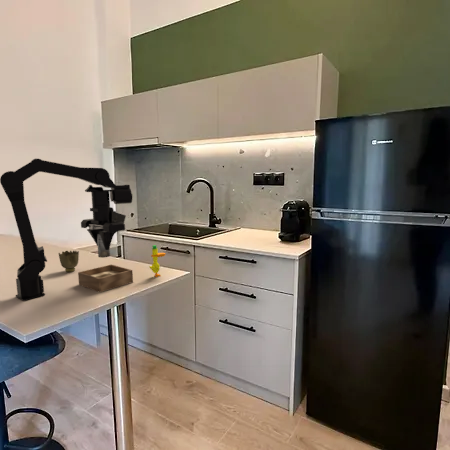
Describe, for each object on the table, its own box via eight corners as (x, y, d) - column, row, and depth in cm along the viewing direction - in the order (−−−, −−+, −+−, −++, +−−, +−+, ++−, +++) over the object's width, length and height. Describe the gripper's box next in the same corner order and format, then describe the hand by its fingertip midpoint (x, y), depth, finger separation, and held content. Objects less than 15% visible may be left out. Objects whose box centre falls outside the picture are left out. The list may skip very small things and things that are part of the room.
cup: (72, 274, 129) (70, 254, 128) (55, 273, 131) (54, 253, 130) (84, 269, 137) (82, 250, 135) (68, 268, 138) (66, 249, 137)
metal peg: (102, 258, 113) (100, 235, 112) (96, 256, 116) (94, 234, 115) (112, 255, 116) (111, 233, 115) (106, 254, 119) (104, 232, 118)
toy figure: (164, 273, 129) (163, 243, 127) (167, 275, 126) (166, 245, 124) (147, 276, 126) (146, 245, 124) (150, 278, 123) (149, 247, 121)
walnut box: (99, 292, 108) (98, 279, 108) (79, 284, 117) (78, 272, 116) (132, 282, 119) (132, 270, 118) (112, 275, 127) (111, 264, 126)
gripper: (137, 204, 114) (139, 248, 116) (106, 202, 126) (109, 242, 128) (108, 206, 106) (111, 254, 108) (78, 204, 117) (81, 247, 119)
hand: (103, 249), depth 116 cm, fingers closed on metal peg, 4 cm apart
